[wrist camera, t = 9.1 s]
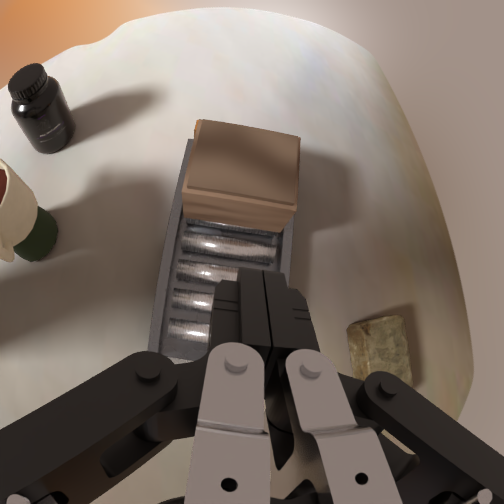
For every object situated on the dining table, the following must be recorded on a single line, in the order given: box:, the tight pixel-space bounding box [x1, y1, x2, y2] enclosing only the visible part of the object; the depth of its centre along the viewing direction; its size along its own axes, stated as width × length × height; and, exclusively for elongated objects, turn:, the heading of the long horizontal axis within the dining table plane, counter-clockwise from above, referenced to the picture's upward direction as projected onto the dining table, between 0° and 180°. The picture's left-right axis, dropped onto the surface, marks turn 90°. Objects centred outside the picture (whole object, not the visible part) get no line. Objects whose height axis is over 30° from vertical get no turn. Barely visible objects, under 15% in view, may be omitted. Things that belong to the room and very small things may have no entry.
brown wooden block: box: [182, 119, 301, 233], centre depth 31 cm, size 8×10×7 cm
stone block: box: [347, 315, 413, 388], centre depth 33 cm, size 6×12×5 cm, turn 8°
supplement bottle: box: [8, 63, 75, 154], centre depth 30 cm, size 7×7×12 cm
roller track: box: [148, 120, 294, 361], centre depth 32 cm, size 24×13×7 cm, turn 173°
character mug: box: [0, 159, 58, 262], centre depth 26 cm, size 11×7×13 cm, turn 24°
